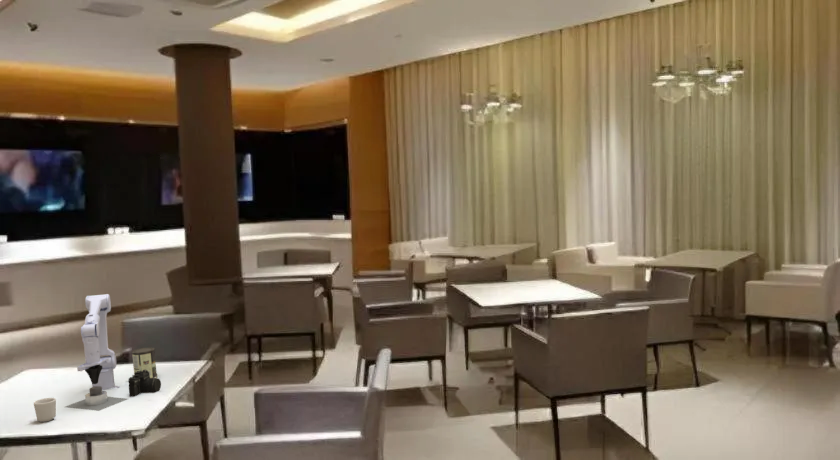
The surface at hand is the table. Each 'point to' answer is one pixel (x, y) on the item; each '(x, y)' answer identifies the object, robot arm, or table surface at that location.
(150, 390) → the camera
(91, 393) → the dark bulb knob
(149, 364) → the coffee can
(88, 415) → the table surface
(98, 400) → the beige donut ring
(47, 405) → the cup
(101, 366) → the robot arm
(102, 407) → the mat
